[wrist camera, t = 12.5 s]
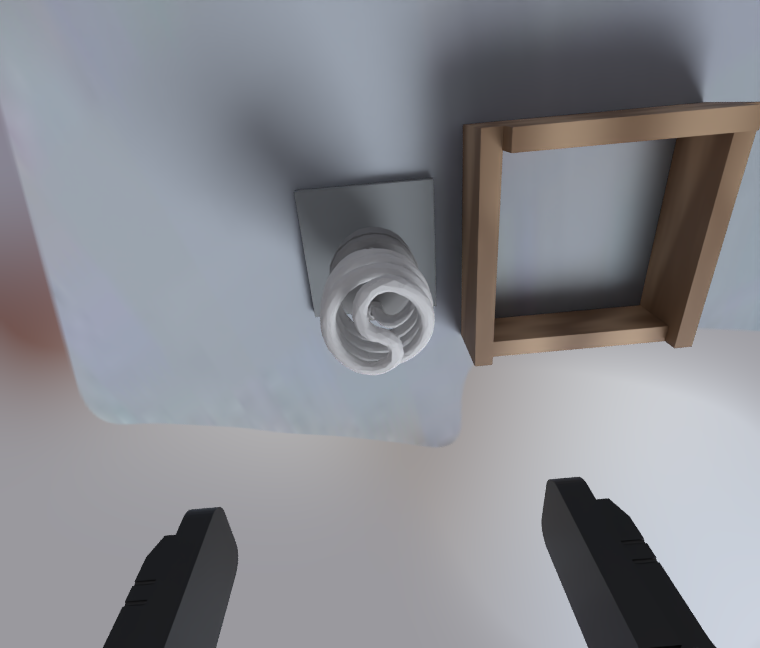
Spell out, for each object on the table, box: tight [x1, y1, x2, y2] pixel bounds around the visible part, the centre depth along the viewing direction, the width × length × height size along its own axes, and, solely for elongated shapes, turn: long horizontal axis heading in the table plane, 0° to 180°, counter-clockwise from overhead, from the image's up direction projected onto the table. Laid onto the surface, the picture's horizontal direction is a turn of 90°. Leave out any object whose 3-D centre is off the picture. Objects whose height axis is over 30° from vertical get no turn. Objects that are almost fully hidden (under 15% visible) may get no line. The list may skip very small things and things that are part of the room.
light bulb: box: [320, 227, 435, 375], centre depth 24 cm, size 6×6×12 cm
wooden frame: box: [461, 102, 760, 366], centre depth 27 cm, size 15×15×6 cm
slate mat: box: [294, 178, 436, 317], centre depth 29 cm, size 9×9×1 cm
